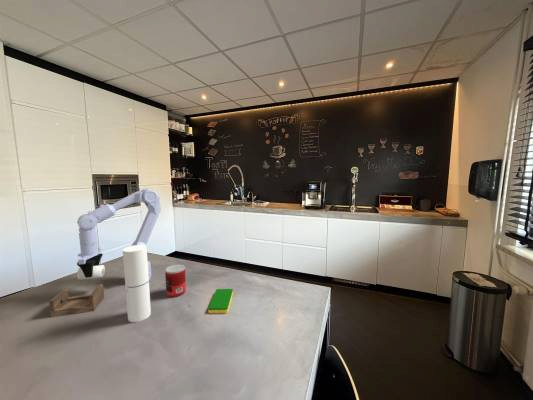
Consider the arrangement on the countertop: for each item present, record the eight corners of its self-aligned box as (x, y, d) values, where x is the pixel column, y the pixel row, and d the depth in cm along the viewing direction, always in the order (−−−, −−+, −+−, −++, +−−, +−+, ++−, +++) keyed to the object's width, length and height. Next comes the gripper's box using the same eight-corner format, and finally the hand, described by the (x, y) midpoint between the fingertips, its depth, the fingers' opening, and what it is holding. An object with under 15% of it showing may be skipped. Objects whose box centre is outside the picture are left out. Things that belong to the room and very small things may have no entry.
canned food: (189, 288, 98) (188, 264, 97) (180, 298, 90) (179, 272, 89) (172, 287, 99) (171, 263, 98) (162, 297, 91) (161, 271, 90)
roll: (105, 274, 97) (104, 263, 97) (100, 279, 92) (99, 267, 92) (83, 276, 95) (82, 265, 94) (77, 281, 90) (76, 269, 90)
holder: (104, 297, 91) (102, 283, 90) (94, 310, 82) (92, 295, 81) (65, 303, 87) (64, 288, 86) (50, 317, 78) (49, 301, 78)
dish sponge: (208, 314, 80) (207, 308, 80) (216, 294, 94) (216, 288, 94) (227, 314, 80) (227, 308, 80) (233, 293, 94) (233, 288, 94)
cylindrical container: (140, 323, 75) (135, 252, 72) (122, 320, 76) (117, 250, 73) (155, 310, 82) (151, 245, 79) (138, 308, 83) (134, 244, 80)
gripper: (86, 238, 98) (89, 268, 99) (67, 249, 84) (71, 283, 86) (104, 237, 100) (107, 266, 101) (89, 247, 86) (92, 280, 88)
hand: (92, 274), depth 94 cm, fingers closed on roll, 5 cm apart
